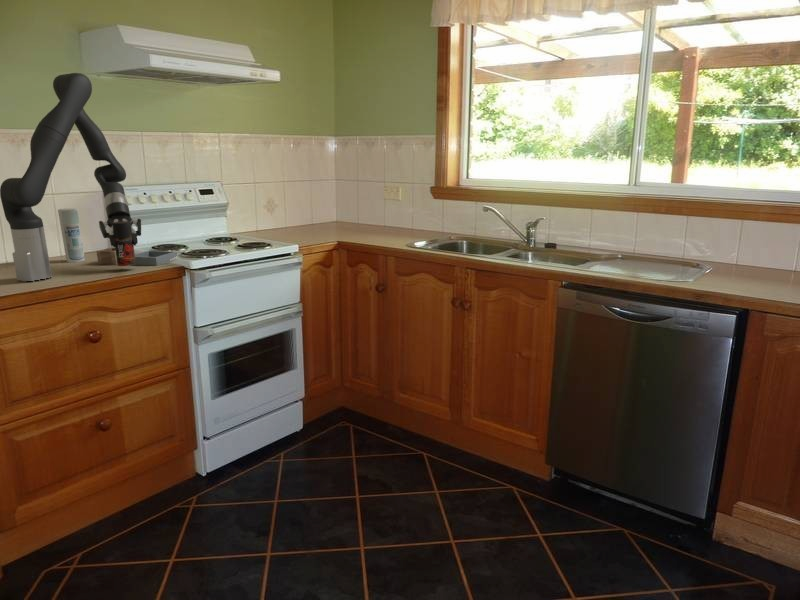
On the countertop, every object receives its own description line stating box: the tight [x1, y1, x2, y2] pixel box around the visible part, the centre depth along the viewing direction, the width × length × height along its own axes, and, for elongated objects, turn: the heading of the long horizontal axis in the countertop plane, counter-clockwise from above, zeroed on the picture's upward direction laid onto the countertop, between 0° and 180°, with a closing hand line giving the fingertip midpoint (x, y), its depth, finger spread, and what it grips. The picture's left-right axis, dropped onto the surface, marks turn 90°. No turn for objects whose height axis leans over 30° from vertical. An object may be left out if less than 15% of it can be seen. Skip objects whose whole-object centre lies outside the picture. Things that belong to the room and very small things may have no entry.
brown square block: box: [96, 246, 118, 266], centre depth 223 cm, size 8×8×5 cm
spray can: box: [57, 207, 86, 263], centre depth 226 cm, size 6×6×20 cm
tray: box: [134, 250, 178, 267], centre depth 224 cm, size 13×13×3 cm
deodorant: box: [112, 221, 136, 267], centre depth 207 cm, size 6×6×15 cm
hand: (124, 244), depth 206 cm, fingers closed on deodorant, 6 cm apart
